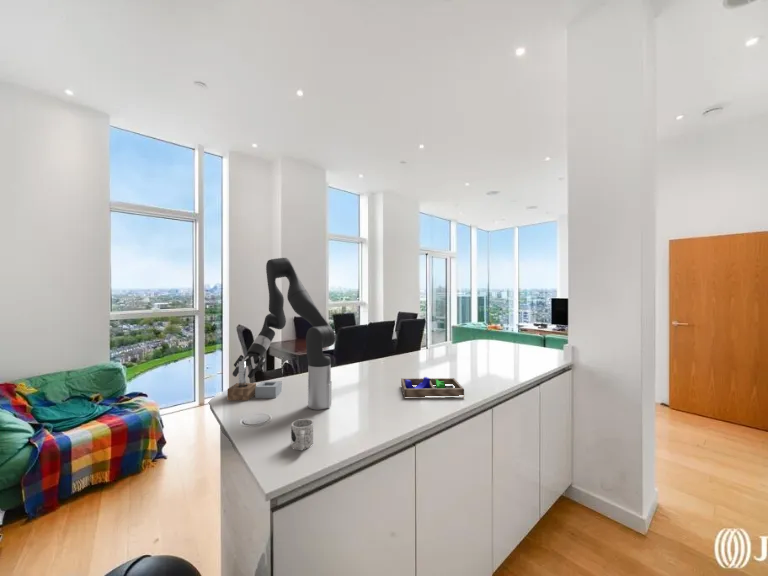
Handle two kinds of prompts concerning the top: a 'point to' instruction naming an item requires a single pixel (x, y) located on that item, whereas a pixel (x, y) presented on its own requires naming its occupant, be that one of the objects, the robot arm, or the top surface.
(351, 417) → the top surface
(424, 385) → the cable clip
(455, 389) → the organiser frame
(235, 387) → the wooden square frame
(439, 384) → the pipe clamp
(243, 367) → the steel axle
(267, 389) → the socket block
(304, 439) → the mug
